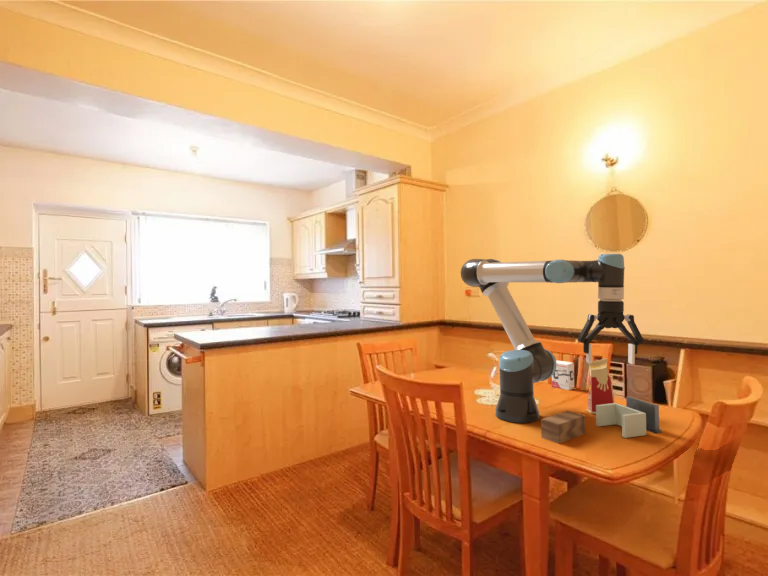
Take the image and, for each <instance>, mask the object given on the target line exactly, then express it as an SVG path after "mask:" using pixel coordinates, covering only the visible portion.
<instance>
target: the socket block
mask: <svg viewBox="0 0 768 576" xmlns="http://www.w3.org/2000/svg"><path fill="white" fill-rule="evenodd" d="M595 422H596V426H597V427H604V426H605V427H606V426H612V425H617V426H619V427H621V433H622V434H621V437H623V438H625V439H628V438H635V437H641V436H647V430H646V413H643V412H641V411H638V410H635V409H632V408H629V407H626V405H623V404H619V403H617V402H614V403H610V404H601V405H596V414H595Z"/></svg>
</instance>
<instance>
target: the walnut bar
mask: <svg viewBox="0 0 768 576" xmlns="http://www.w3.org/2000/svg"><path fill="white" fill-rule="evenodd" d="M540 421H541V422H540V423H541V424H540V425H541V426H540V427H541V428H540V429H541V432H540V433H541V438H542V439H544V440H548V441H550V442H554V443H556V444H561V443H564V442H567V441H569V440H572V439H575V438H578V437H580V436H584V435H585V434H586V415H585V414H580V413H576V412H573V411H569V410H566V411H563V412H560V413H556V414H553V415H550V416H547V417H543V418H542V419H541V420H540Z"/></svg>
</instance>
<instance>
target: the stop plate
mask: <svg viewBox="0 0 768 576" xmlns="http://www.w3.org/2000/svg"><path fill="white" fill-rule="evenodd" d="M625 399H626V403H625V406H626V407H629V408H632V409H635V410H638V411H641V412H643V413H646V432H647V431H648V432H650V433H652V434H655V435H656V434H663V433H662V429H661V428H660V405H659V404H657V403H654V402H650V401H647V400H644V399H641V398H638V397H635V396H631V395H626V398H625Z"/></svg>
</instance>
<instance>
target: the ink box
mask: <svg viewBox="0 0 768 576" xmlns="http://www.w3.org/2000/svg"><path fill="white" fill-rule="evenodd" d="M556 364H557V366H556V370H555V373H554V374H553V375H552V376H551V387H553V388H557V389H562V390H566V391H570V390H573V389H575V363H574V362H571V361H563V360H556Z"/></svg>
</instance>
